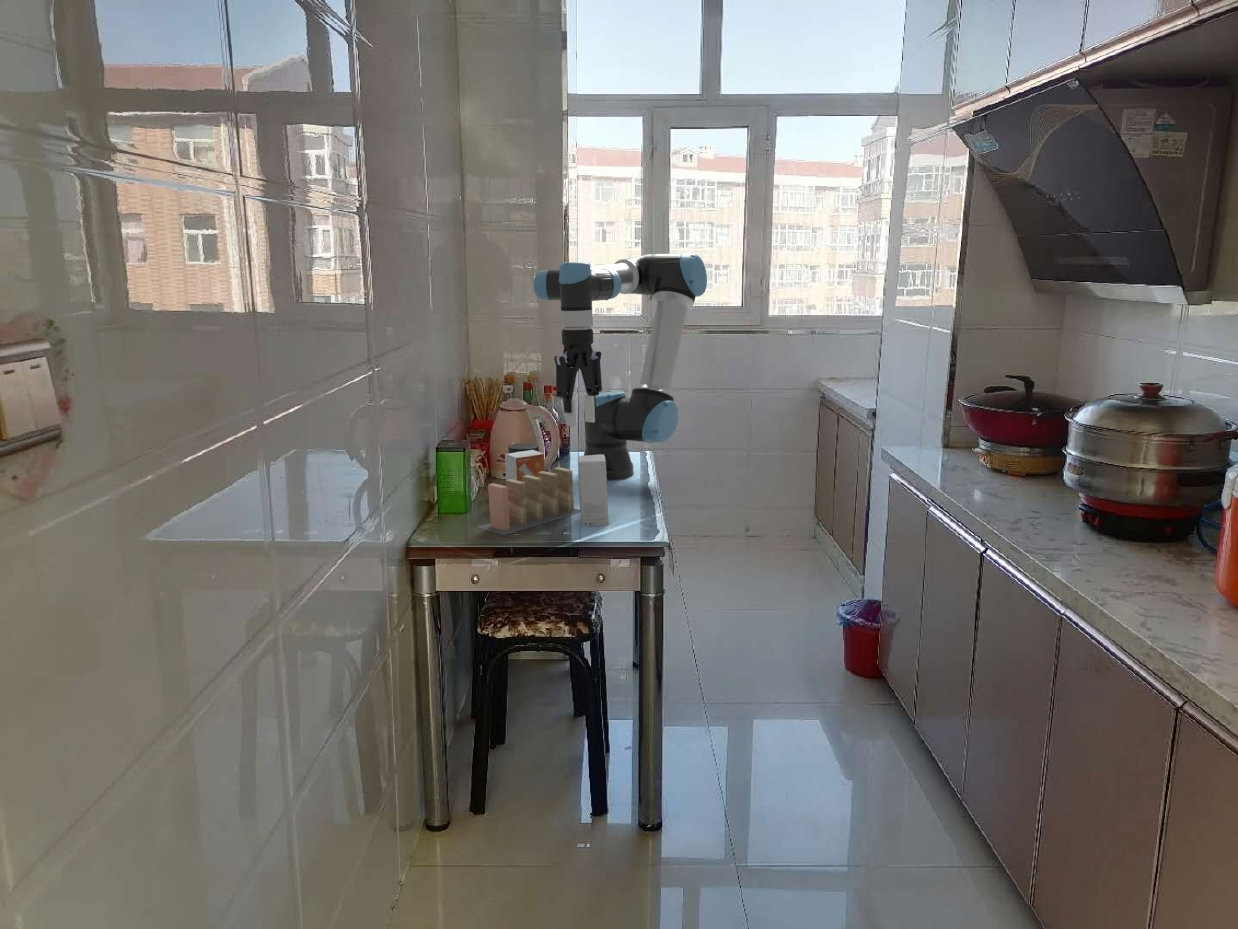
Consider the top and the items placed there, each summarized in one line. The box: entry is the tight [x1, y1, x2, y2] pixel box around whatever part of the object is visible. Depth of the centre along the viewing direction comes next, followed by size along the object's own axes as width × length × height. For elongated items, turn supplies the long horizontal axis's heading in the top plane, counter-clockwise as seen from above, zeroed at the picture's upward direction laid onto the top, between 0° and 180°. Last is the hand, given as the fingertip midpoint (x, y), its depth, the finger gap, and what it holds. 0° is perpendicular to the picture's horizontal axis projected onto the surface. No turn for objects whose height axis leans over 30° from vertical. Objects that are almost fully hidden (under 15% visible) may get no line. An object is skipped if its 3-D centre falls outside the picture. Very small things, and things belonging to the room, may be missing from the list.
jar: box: [507, 442, 540, 454], centre depth 247 cm, size 9×8×12 cm
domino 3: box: [522, 475, 543, 521], centre depth 219 cm, size 2×5×10 cm, turn 46°
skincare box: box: [577, 454, 610, 527], centre depth 215 cm, size 8×7×16 cm
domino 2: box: [504, 479, 527, 526], centre depth 215 cm, size 2×5×10 cm, turn 46°
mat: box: [477, 507, 581, 536], centre depth 219 cm, size 25×10×1 cm, turn 136°
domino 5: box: [552, 466, 575, 512], centre depth 226 cm, size 2×5×10 cm, turn 46°
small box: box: [504, 450, 546, 482], centre depth 233 cm, size 8×6×13 cm
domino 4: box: [538, 470, 559, 516], centre depth 222 cm, size 2×5×10 cm, turn 46°
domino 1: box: [487, 483, 510, 531], centre depth 212 cm, size 2×5×10 cm, turn 46°
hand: (580, 423), depth 227 cm, fingers open, 6 cm apart
